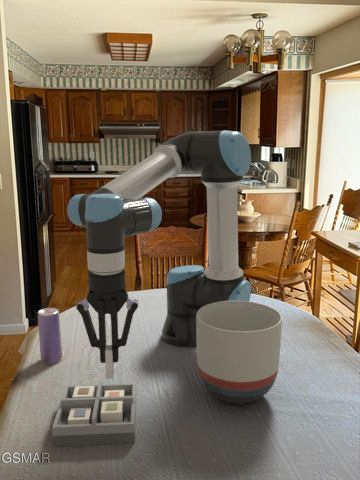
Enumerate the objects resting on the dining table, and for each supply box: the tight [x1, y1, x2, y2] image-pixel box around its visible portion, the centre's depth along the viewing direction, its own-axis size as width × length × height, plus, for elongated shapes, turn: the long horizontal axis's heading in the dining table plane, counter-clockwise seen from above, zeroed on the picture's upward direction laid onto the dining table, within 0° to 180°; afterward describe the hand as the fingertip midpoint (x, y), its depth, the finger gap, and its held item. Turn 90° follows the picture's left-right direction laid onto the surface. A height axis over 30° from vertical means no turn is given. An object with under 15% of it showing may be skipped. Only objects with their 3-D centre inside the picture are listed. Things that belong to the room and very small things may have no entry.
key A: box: [104, 390, 124, 397], centre depth 112 cm, size 4×4×3 cm
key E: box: [72, 386, 95, 398], centre depth 111 cm, size 4×4×3 cm
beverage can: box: [37, 307, 63, 365], centre depth 137 cm, size 6×6×15 cm
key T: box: [68, 408, 92, 425], centre depth 105 cm, size 4×4×3 cm
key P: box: [101, 401, 123, 423], centre depth 105 cm, size 4×4×3 cm
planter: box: [196, 300, 283, 405], centre depth 117 cm, size 20×20×21 cm
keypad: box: [51, 379, 137, 447], centre depth 109 cm, size 17×18×6 cm
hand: (110, 375), depth 103 cm, fingers closed
